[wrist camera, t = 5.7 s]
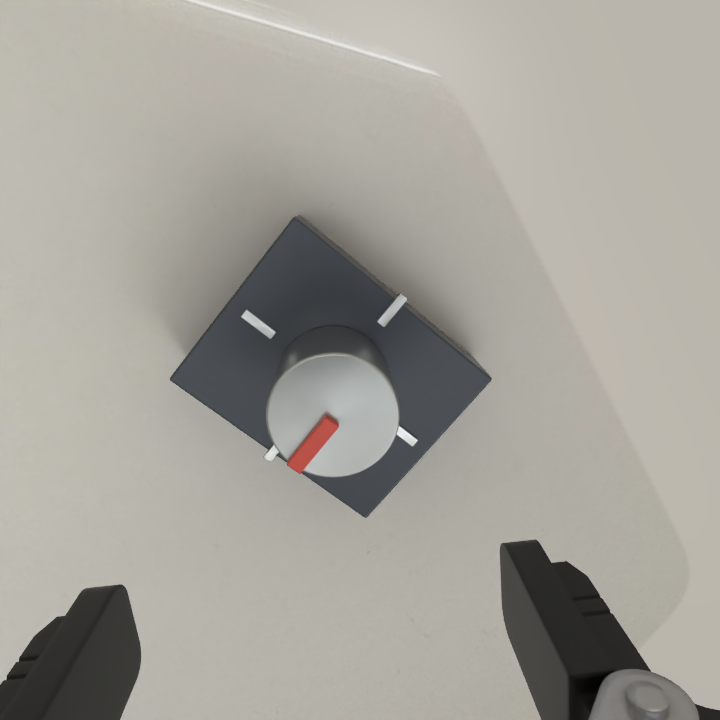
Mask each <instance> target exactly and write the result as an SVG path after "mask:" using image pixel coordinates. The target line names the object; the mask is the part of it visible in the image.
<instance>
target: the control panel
mask: <svg viewBox="0 0 720 720" xmlns="http://www.w3.org/2000/svg"><path fill="white" fill-rule="evenodd" d="M406 301H407V298H406V297H405V296H404V295H402V294H401V293H400V294H399V295H397V294H395V293H394V292H393V291H392V290H391V289H389V288H388V287H387V286H386V285H385V284H383V283H382V282H381V281H380V280H378V279H377V278H376V277H375V276H374V275H372V274H371V273H370V272H369V271H368V270H366V269H365V268H364V267H363V266H361V265H360V264H359V263H358V262H357V261H355V260H354V259H353V258H352V257H351V256H349V255H348V254H347V253H346V252H344V251H343V250H342V249H341V248H340V247H338V246H337V245H336V244H335V243H334V242H332V241H331V240H330V239H329V238H327V237H326V236H325V235H324V234H323V233H321V232H320V231H319V230H318V229H317V228H315V227H314V226H313V225H312V224H310V223H309V222H308V221H307V220H306V219H304V218H303V217H302V216H301V215H298V216H296V217H294V218H293V219H292V220H291V221H290V223H289V224H288V225H287V226H286V228H285V229H284V230H283V232H282V233H281V234H280V236H279V237H278V238H277V239H276V241H275V242H274V243H273V245H272V246H271V247H270V249H269V250H268V251H267V252H266V254H265V255H264V256H263V258H262V259H261V260H260V262H259V263H258V264H257V265H256V267H255V268H254V269H253V271H252V272H251V273H250V275H249V276H248V277H247V278H246V280H245V281H244V282H243V284H242V285H241V286H240V288H239V289H238V290H237V291H236V293H235V294H234V295H233V297H232V298H231V299H230V301H229V302H228V303H227V304H226V306H225V307H224V308H223V310H222V311H221V312H220V314H219V315H218V316H217V317H216V319H215V320H214V321H213V323H212V324H211V325H210V327H209V328H208V329H207V330H206V332H205V333H204V334H203V336H202V337H201V338H200V340H199V341H198V342H197V343H196V345H195V346H194V347H193V349H192V350H191V351H190V353H189V354H188V355H187V356H186V358H185V359H184V360H183V362H182V363H181V364H180V366H179V367H178V368H177V369H176V371H175V372H174V373H173V375H172V376H171V377H170V380H171V381H172V382H173V383H175V384H176V385H178V386H179V387H180V388H182V389H183V390H185V391H186V392H187V393H189V394H190V395H192V396H193V397H195V398H196V399H197V400H199V401H200V402H202V403H203V404H204V405H206V406H207V407H209V408H210V409H212V410H213V411H214V412H216V413H217V414H219V415H220V416H222V417H223V418H224V419H226V420H227V421H229V422H230V423H231V424H233V425H234V426H236V427H237V428H239V429H240V430H241V431H243V432H244V433H246V434H247V435H248V436H250V437H251V438H253V439H254V440H256V441H257V442H258V443H260V444H261V445H263V446H264V447H265V448H267V449H268V451H267V452H266V454H265V455H264V458H265V459H266V460H268V461H269V462H271V461H272V460H273V459H274V457H275V456H276V455H277V456H278V457H280V458H281V459H282V460H284V461H285V462H287V460H286V459H285V458H284V457H283V456H282V455H281V454H280V453H279V451H278V450H277V449H276V447H275V446H274V444H273V442H272V440H271V438H270V435H269V432H268V428H267V423H266V407H267V401H268V398H269V395H270V391H271V388H272V385H273V382H274V379H275V375H276V372H277V369H278V366H279V363H280V360H281V358H282V356H283V354H284V352H285V351H286V349H287V348H288V347H289V346H290V345H291V343H292V342H293V341H295V340H296V339H297V338H298V337H300V336H301V335H303V334H304V333H306V332H308V331H310V330H313V329H316V328H320V327H325V326H340V327H346V328H350V329H353V330H355V331H357V332H360V333H362V334H363V335H365V336H366V337H368V338H369V339H370V340H371V341H372V342H373V343H374V344H375V345H376V346H377V347H378V348H379V350H380V351H381V353H382V354H383V357H384V359H385V361H386V364H387V367H388V370H389V373H390V376H391V379H392V382H393V385H394V388H395V391H396V394H397V397H398V401H399V406H400V422H399V428H398V432H397V434H396V437H395V439H394V441H393V443H392V445H391V447H390V448H389V449H388V451H387V452H386V453H385V455H384V456H383V457H382V458H381V459H380V460H378V461H377V462H376V463H375V464H373V465H372V466H370V467H369V468H367V469H365V470H363V471H361V472H359V473H356V474H353V475H350V476H344V477H335V478H331V477H321V476H316V475H312V474H309V473H307V472H304V471H302V472H301V473H302V474H304V475H305V476H307V477H308V478H309V479H311V480H312V481H314V482H315V483H317V484H318V485H319V486H321V487H322V488H324V489H325V490H326V491H328V492H329V493H331V494H332V495H334V496H335V497H336V498H338V499H339V500H341V501H342V502H343V503H345V504H346V505H348V506H349V507H351V508H352V509H353V510H355V511H356V512H358V513H359V514H361V515H362V516H363V517H365V518H366V517H368V516H369V514H370V513H371V512H372V511H373V510H374V509H375V508H376V507H377V506H378V505H379V503H380V502H381V501H382V500H383V499H384V498H385V497H386V496H387V495H388V493H389V492H390V491H391V490H392V489H393V488H394V487H395V486H396V485H397V484H398V482H399V481H400V480H401V479H402V478H403V477H404V476H405V475H406V474H407V473H408V471H409V470H410V469H411V468H412V467H413V466H414V465H415V464H416V463H417V462H418V460H419V459H420V458H421V457H422V456H423V455H424V454H425V453H426V452H427V450H428V449H429V448H430V447H431V446H432V445H433V444H434V443H435V442H436V441H437V439H438V438H439V437H440V436H441V435H442V434H443V433H444V432H445V431H446V430H447V428H448V427H449V426H450V425H451V424H452V423H453V422H454V421H455V420H456V419H457V417H458V416H459V415H460V414H461V413H462V412H463V411H464V410H465V409H466V408H467V406H468V405H469V404H470V403H471V402H472V401H473V400H474V399H475V398H476V396H477V395H478V394H479V393H480V392H481V391H482V390H483V389H484V388H485V387H486V385H487V384H488V383H489V382H490V381H491V379H492V378H491V377H490V376H489V375H488V373H487V372H486V371H485V370H484V369H483V368H482V367H481V365H480V364H479V363H478V362H477V361H476V360H475V359H474V358H473V357H472V356H471V355H470V354H468V353H467V352H466V351H465V350H463V349H462V348H461V347H460V346H459V345H457V344H456V343H455V342H454V341H453V340H451V339H450V338H449V337H448V336H446V335H445V334H444V333H443V332H442V331H440V330H439V329H438V328H437V327H436V326H434V325H433V324H432V323H431V322H429V321H428V320H427V319H426V318H425V317H423V316H422V315H421V314H420V313H419V312H417V311H416V310H415V309H414V308H412V307H411V306H410V305H409V304H408V303H406Z"/></svg>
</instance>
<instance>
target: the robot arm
mask: <svg viewBox="0 0 720 720" xmlns="http://www.w3.org/2000/svg"><path fill="white" fill-rule="evenodd" d="M500 564H501V591H502V609H503V616H504V622H505V626H506V630H507V633H508V636H509V639H510V642H511V644H512V647H513V649H514V652H515V654H516V657H517V659H518V662H519V664H520V667H521V669H522V672H523V674H524V677H525V679H526V682H527V684H528V687H529V689H530V692H531V695H532V697H533V700H534V702H535V705H536V707H537V710H538V712H539V715H540V717H541V720H720V710H714V709H709V708H705V707H702V706H699V705H696V704H694V703H693V701H692V700H691V698H690V697H689V696H688V695H687V693H686V692H685V691H684V690H682V689H681V688H680V687H679V686H678V685H676V684H675V683H673V682H672V681H670V680H668V679H667V678H665V677H663V676H661V675H658V674H656V673H653V672H651V671H650V669H649V668H648V666H647V665H646V663H645V662H644V660H643V659H642V657H641V656H640V654H639V653H638V651H637V650H636V648H635V647H634V645H633V644H632V642H631V641H630V639H629V638H628V636H627V635H626V633H625V632H624V630H623V629H622V627H621V626H620V624H619V623H618V621H617V620H616V618H615V617H614V615H613V614H611V613H610V609H609V608H608V606H607V605H606V603H605V602H604V600H603V599H602V598H600V595H599V593H598V591H597V590H596V589H595V587H594V586H593V584H592V583H591V581H590V580H589V578H588V577H587V576H586V575H585V574H584V573H582V572H581V571H579V570H578V569H577V568H575V567H574V566H572V565H571V564H570V563H568V562H567V561H565V562H556V563H551V562H550V560H549V558H548V556H547V555H546V553H545V551H544V550H543V548H542V546H541V545H540V543H539V542H538V541H537V540H528V541H519V542H510V543H502V544H501V547H500ZM140 663H141V647H140V641H139V637H138V633H137V629H136V625H135V621H134V617H133V613H132V609H131V605H130V601H129V596H128V593H127V590H126V588H125V587H124V586H123V585H112V586H103V587H94V588H86V589H84V590H83V591H81V593H80V594H79V596H78V597H77V599H76V600H75V602H74V603H73V605H72V606H71V608H70V609H69V611H68V613H67V614H66V616H61V617H56V618H55V619H54V620H53V621H52V622H51V623H49V624H48V625H47V626H46V627H45V628H44V629H42V630H41V631H40V632H39V633H38V634H37V635H35V636H34V637H33V639H32V640H31V642H30V643H29V645H28V646H27V648H26V649H25V650H24V652H23V653H22V655H21V656H20V658H19V662H16V663H15V665H14V666H13V668H12V669H11V671H10V672H9V674H8V675H7V680H4V681H3V682H2V684H1V685H0V720H120V718H121V716H122V713H123V711H124V708H125V706H126V704H127V701H128V699H129V696H130V694H131V692H132V689H133V687H134V684H135V682H136V680H137V677H138V674H139V669H140Z"/></svg>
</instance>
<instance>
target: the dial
mask: <svg viewBox="0 0 720 720" xmlns="http://www.w3.org/2000/svg"><path fill="white" fill-rule="evenodd" d="M399 422H400V406H399V401H398V397H397V394H396V391H395V388H394V385H393V382H392V379H391V376H390V373H389V370H388V367H387V364H386V361H385V359H384V357H383V354H382V353H381V351H380V350H379V348H378V347H377V346H376V345H375V344H374V343H373V342H372V341H371V340H370V339H369V338H368V337H366V336H365V335H363V334H362V333H360V332H357V331H355V330H353V329H350V328H346V327H340V326H325V327H320V328H316V329H313V330H310V331H308V332H306V333H304V334H303V335H301V336H300V337H298V338H297V339H296V340H295V341H293V342H292V343H291V345H290V346H289V347H288V348H287V349H286V351H285V352H284V354H283V356H282V358H281V360H280V363H279V366H278V369H277V372H276V375H275V379H274V382H273V385H272V388H271V391H270V395H269V398H268V401H267V407H266V423H267V428H268V432H269V435H270V438H271V440H272V442H273V444H274V446H275V447H276V449H277V450H278V451H279V453H280V454H281V455H282V456H283V457H284V458H285V459H286V460H287V465H288V466H289V467H290V468H292V469H293V470H295V471H296V472H298V473H299V474H300V473H301V472H302V471H304V472H307V473H309V474H312V475H316V476H321V477H331V478H335V477H344V476H350V475H353V474H356V473H359V472H361V471H363V470H365V469H367V468H369V467H370V466H372V465H373V464H375V463H376V462H377V461H378V460H380V459H381V458H382V457H383V456H384V455H385V453H386V452H387V451H388V449H389V448H390V447H391V445H392V443H393V441H394V439H395V437H396V434H397V432H398V428H399Z"/></svg>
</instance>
